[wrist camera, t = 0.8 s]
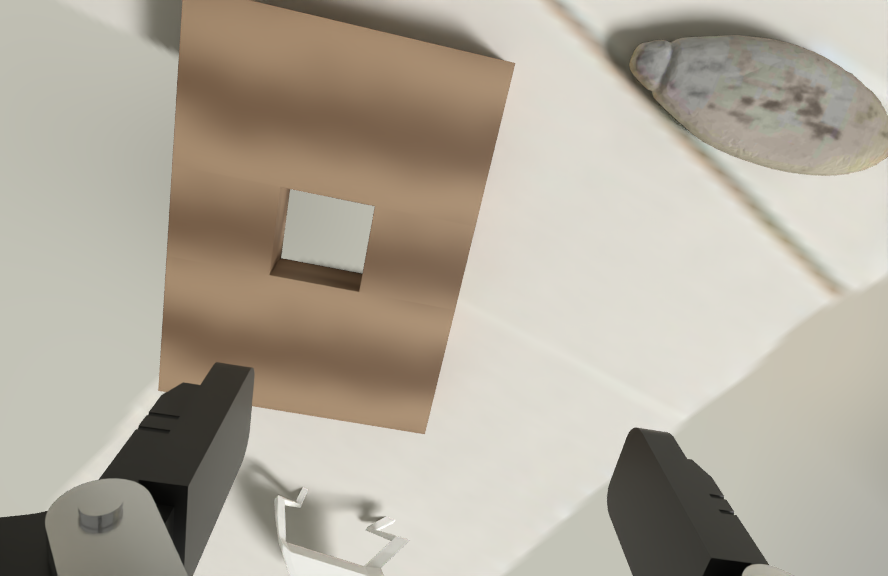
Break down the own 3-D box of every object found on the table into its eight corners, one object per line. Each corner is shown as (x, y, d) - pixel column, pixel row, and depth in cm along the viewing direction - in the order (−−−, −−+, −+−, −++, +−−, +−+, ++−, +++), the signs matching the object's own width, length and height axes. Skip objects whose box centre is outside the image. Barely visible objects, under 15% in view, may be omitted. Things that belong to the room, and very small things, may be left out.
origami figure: (441, 534, 44) (444, 590, 40) (369, 601, 46) (364, 661, 42) (307, 447, 41) (293, 496, 36) (237, 523, 43) (216, 579, 38)
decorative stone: (644, 0, 32) (669, -6, 29) (895, 87, 34) (943, 90, 31) (602, 115, 34) (620, 121, 31) (840, 190, 36) (881, 203, 33)
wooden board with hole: (204, -9, 31) (183, -16, 28) (507, 62, 33) (515, 63, 30) (177, 366, 38) (158, 390, 36) (424, 407, 40) (424, 434, 37)
